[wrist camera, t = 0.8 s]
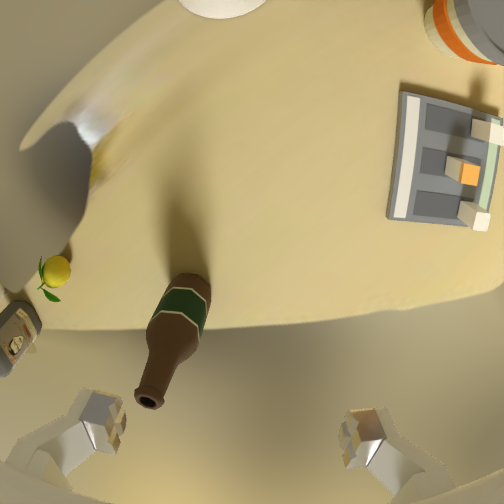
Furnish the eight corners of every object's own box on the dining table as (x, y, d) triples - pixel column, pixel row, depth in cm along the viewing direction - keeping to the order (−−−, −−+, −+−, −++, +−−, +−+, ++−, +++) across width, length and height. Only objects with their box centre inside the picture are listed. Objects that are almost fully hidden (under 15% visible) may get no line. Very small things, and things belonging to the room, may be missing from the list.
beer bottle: (176, 264, 52) (119, 371, 30) (219, 282, 53) (186, 398, 31) (164, 298, 55) (113, 404, 34) (204, 315, 56) (171, 427, 35)
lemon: (78, 281, 55) (52, 311, 46) (55, 270, 55) (27, 298, 46) (79, 253, 52) (50, 281, 43) (55, 242, 52) (25, 268, 43)
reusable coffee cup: (401, 34, 33) (451, 13, 19) (428, -20, 27) (477, -50, 14) (465, 84, 35) (527, 88, 21) (488, 29, 29) (547, 20, 16)
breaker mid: (447, 155, 38) (464, 163, 34) (462, 158, 38) (480, 166, 34) (444, 174, 40) (460, 183, 35) (460, 176, 39) (477, 186, 35)
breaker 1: (472, 118, 35) (491, 122, 31) (486, 122, 35) (505, 127, 30) (470, 136, 36) (489, 142, 32) (484, 140, 36) (503, 146, 32)
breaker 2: (460, 200, 41) (476, 211, 36) (474, 202, 41) (491, 213, 36) (457, 217, 42) (472, 229, 38) (470, 218, 42) (486, 231, 38)
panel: (399, 91, 37) (403, 91, 35) (497, 117, 36) (503, 118, 34) (385, 216, 45) (388, 220, 44) (479, 225, 44) (484, 228, 43)
